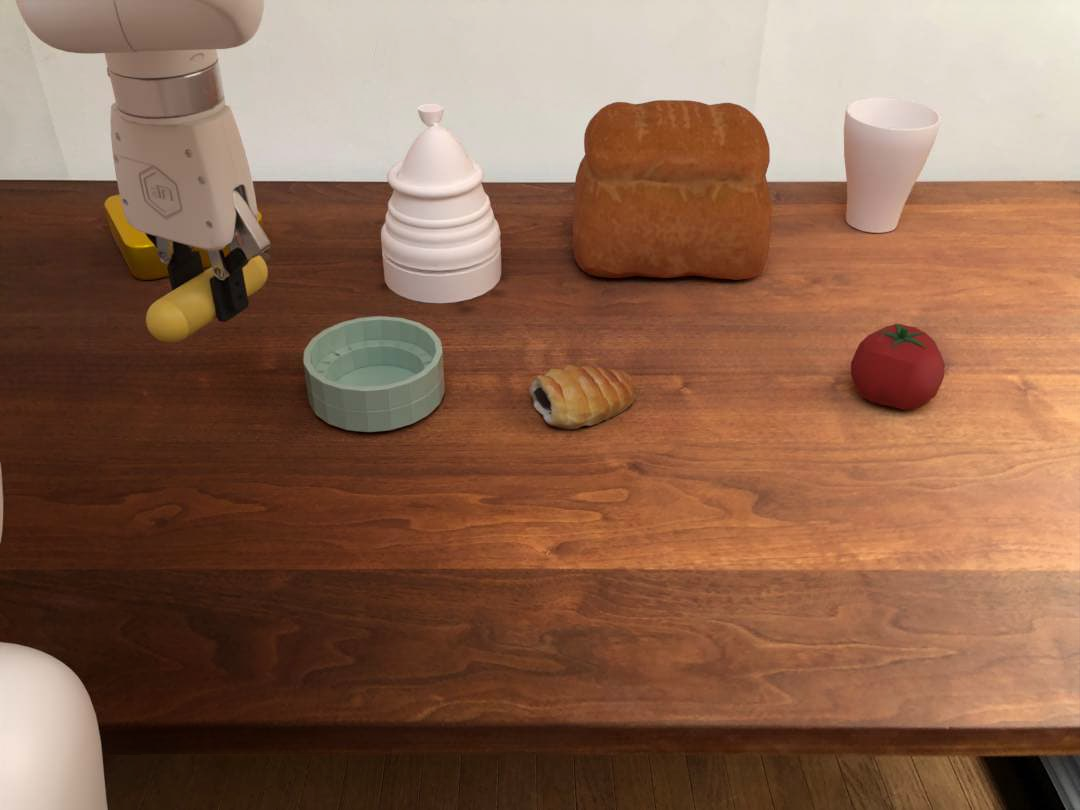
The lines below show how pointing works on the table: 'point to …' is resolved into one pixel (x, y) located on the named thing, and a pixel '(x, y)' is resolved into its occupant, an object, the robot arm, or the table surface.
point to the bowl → (374, 373)
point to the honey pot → (439, 221)
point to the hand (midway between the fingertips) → (212, 306)
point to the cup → (884, 158)
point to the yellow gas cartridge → (197, 303)
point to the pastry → (581, 395)
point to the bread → (673, 192)
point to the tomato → (898, 367)
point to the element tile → (143, 244)
